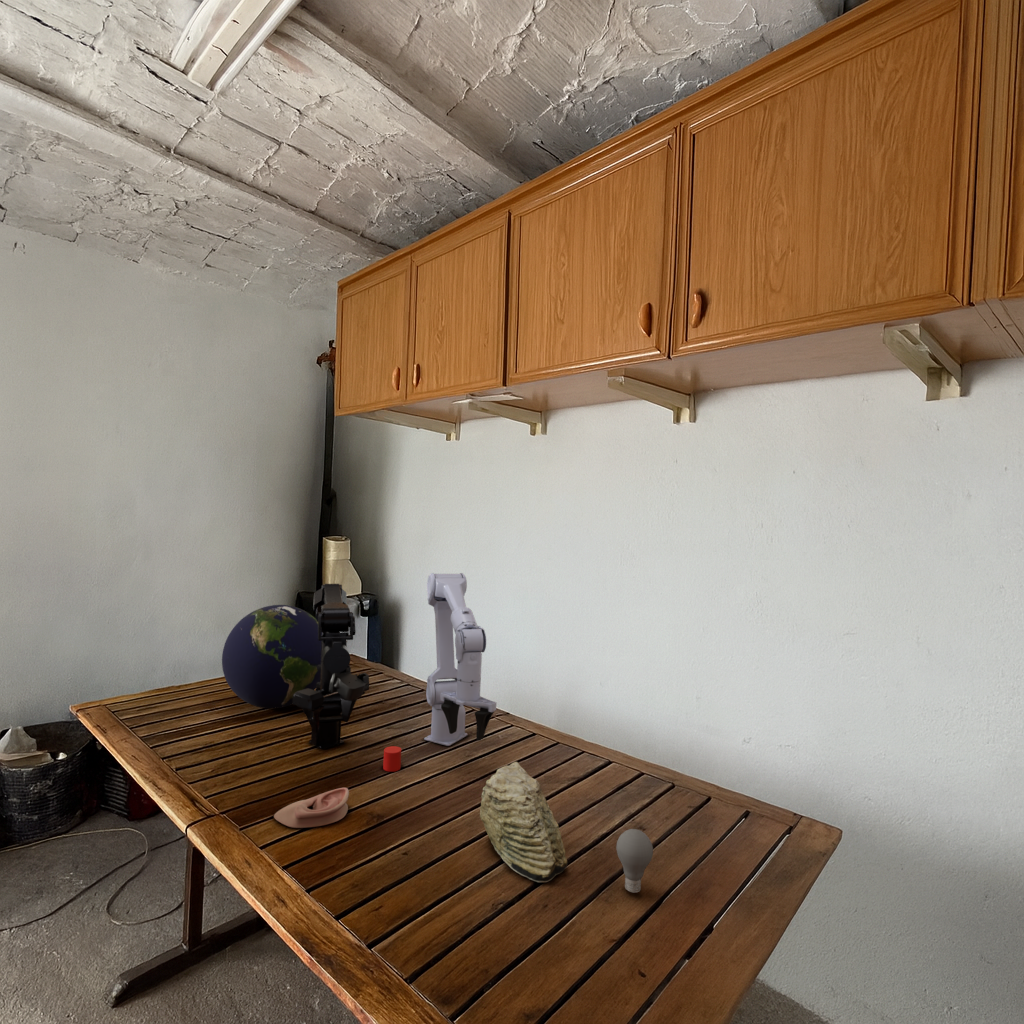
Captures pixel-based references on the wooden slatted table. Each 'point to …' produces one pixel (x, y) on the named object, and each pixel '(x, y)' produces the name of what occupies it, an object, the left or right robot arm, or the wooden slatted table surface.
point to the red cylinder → (392, 759)
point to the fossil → (522, 824)
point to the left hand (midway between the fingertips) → (331, 727)
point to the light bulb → (634, 857)
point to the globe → (272, 656)
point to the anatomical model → (315, 810)
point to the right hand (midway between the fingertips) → (466, 735)
